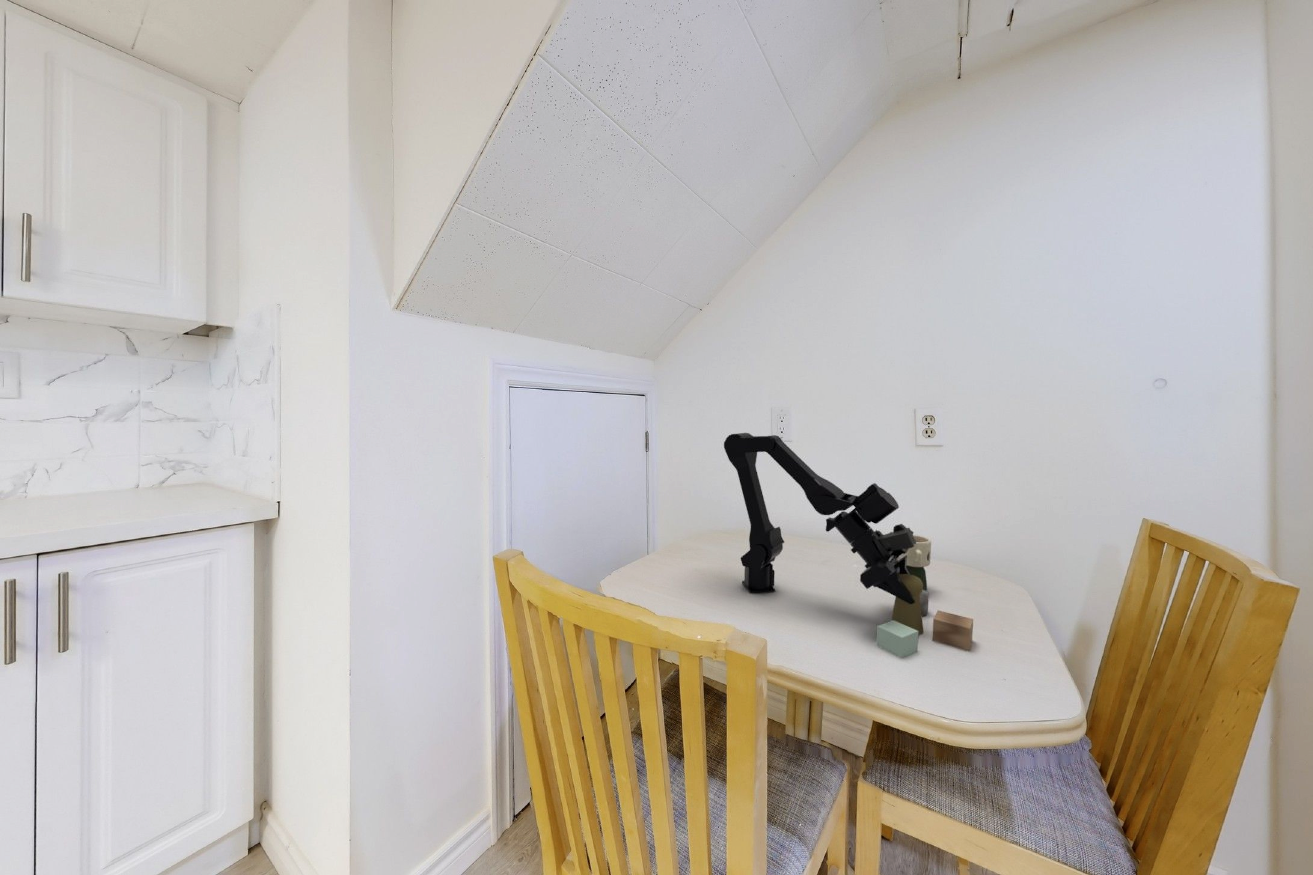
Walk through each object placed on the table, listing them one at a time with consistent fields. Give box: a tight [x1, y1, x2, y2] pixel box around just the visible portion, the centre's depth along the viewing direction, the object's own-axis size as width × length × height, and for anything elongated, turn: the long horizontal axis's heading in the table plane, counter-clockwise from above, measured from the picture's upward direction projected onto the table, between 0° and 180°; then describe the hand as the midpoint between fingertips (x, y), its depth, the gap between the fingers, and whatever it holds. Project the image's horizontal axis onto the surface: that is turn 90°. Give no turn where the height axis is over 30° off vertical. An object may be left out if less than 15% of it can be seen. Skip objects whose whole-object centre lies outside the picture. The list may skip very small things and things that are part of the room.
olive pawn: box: [890, 574, 924, 636], centre depth 95 cm, size 6×6×11 cm
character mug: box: [899, 534, 932, 591], centre depth 115 cm, size 11×7×13 cm, turn 163°
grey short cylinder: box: [920, 590, 930, 617], centre depth 103 cm, size 5×5×4 cm
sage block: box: [876, 620, 919, 659], centre depth 87 cm, size 5×5×4 cm
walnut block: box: [931, 609, 974, 652], centre depth 90 cm, size 6×5×4 cm
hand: (915, 598), depth 94 cm, fingers closed on olive pawn, 5 cm apart
